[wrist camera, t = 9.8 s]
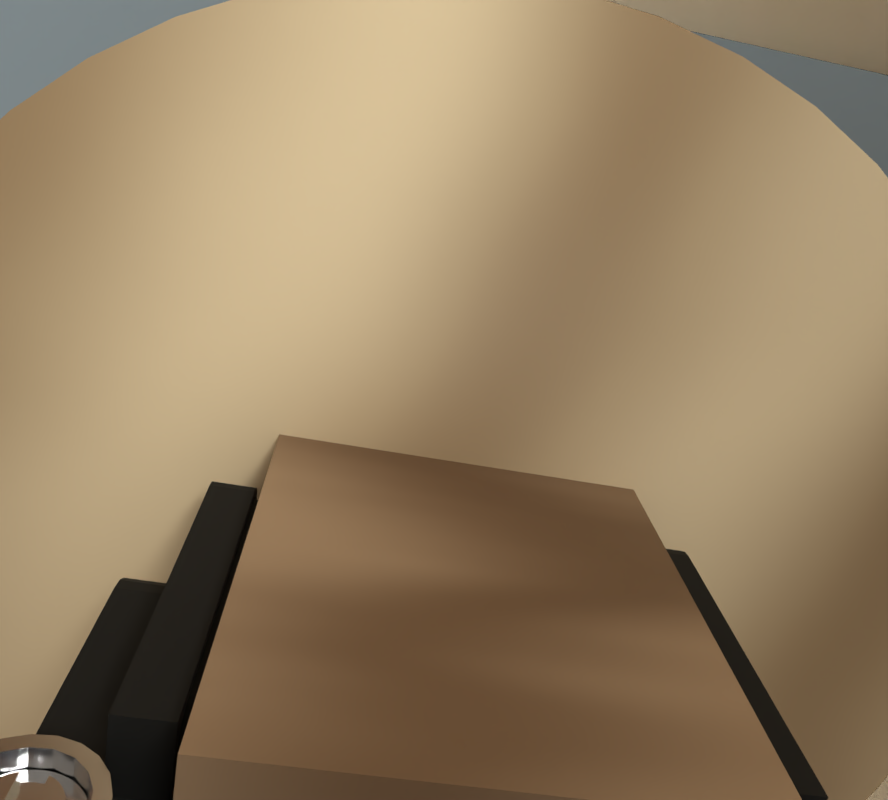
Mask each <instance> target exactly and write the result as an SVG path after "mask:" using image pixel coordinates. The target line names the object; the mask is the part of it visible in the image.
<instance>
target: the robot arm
mask: <svg viewBox="0 0 888 800" xmlns="http://www.w3.org/2000/svg"><path fill="white" fill-rule="evenodd" d="M257 503H258V500H257V488H254V487H247V486H241V485H234V484H227V483H220V482H214V481H212V482H211V484H210V485H209V488H208V490H207V492H206V495H205V497H204V499H203V501H202V504H201V506H200V508H199V510H198V513H197V515H196V517H195V519H194V522H193V524H192V526H191V529H190V531H189V533H188V535H187V538H186V540H185V542H184V544H183V547H182V549H181V551H180V553H179V556H178V558H177V560H176V562H175V565H174V567H173V569H172V572H171V574H170V576H169V578H168V581H167V583H161V582H153V581H146V580H138V579H131V578H122V579H120V580H119V581H118V583H117V584H116V586H115V587H114V589H113V591H112V593H111V595H110V597H109V598H108V600H107V602H106V604H105V606H104V608H103V610H102V611H101V613H100V615H99V617H98V619H97V621H96V623H95V624H94V626H93V628H92V630H91V632H90V634H89V636H88V638H87V639H86V641H85V643H84V645H83V647H82V649H81V651H80V652H79V654H78V656H77V658H76V660H75V662H74V664H73V666H72V667H71V669H70V671H69V673H68V675H67V677H66V679H65V680H64V682H63V684H62V686H61V688H60V690H59V692H58V693H57V695H56V697H55V699H54V701H53V703H52V705H51V707H50V708H49V710H48V712H47V714H46V716H45V718H44V720H43V721H42V723H41V725H40V727H39V729H38V731H37V733H36V734H28V735H22V736H15V737H8V738H2V739H0V800H173V794H174V785H175V775H176V766H177V757H178V752H179V749H180V745H181V742H182V739H183V736H184V733H185V730H186V727H187V723H188V720H189V717H190V714H191V711H192V708H193V705H194V701H195V698H196V695H197V692H198V689H199V686H200V682H201V679H202V676H203V673H204V670H205V667H206V664H207V660H208V657H209V654H210V651H211V648H212V645H213V642H214V638H215V635H216V632H217V629H218V626H219V623H220V620H221V616H222V613H223V610H224V607H225V604H226V601H227V597H228V594H229V591H230V588H231V585H232V582H233V579H234V575H235V572H236V569H237V566H238V563H239V560H240V557H241V553H242V550H243V547H244V544H245V541H246V538H247V535H248V531H249V528H250V525H251V522H252V519H253V516H254V512H255V509H256V506H257ZM666 550H667V552H668V554H669V556H670V558H671V559H672V561H673V563H674V565H675V567H676V569H677V570H678V572H679V574H680V576H681V578H682V580H683V581H684V583H685V585H686V587H687V589H688V591H689V593H690V594H691V596H692V598H693V600H694V602H695V604H696V605H697V607H698V609H699V611H700V613H701V615H702V616H703V618H704V620H705V622H706V624H707V626H708V627H709V629H710V631H711V633H712V635H713V637H714V639H715V640H716V642H717V644H718V646H719V648H720V650H721V651H722V653H723V655H724V657H725V659H726V661H727V662H728V664H729V666H730V668H731V670H732V672H733V674H734V675H735V677H736V679H737V681H738V683H739V685H740V686H741V688H742V690H743V692H744V694H745V696H746V697H747V699H748V701H749V703H750V705H751V707H752V708H753V710H754V712H755V714H756V716H757V718H758V720H759V721H760V723H761V725H762V727H763V729H764V731H765V732H766V734H767V736H768V738H769V740H770V742H771V743H772V745H773V747H774V749H775V751H776V753H777V754H778V756H779V758H780V760H781V762H782V764H783V766H784V767H785V769H786V771H787V773H788V775H789V777H790V778H791V780H792V782H793V784H794V786H795V788H796V789H797V791H798V793H799V795H800V797H801V799H802V800H827V799H828V796H827V794H826V792H825V791H824V789H823V787H822V785H821V784H820V782H819V780H818V778H817V777H816V775H815V773H814V772H813V770H812V768H811V766H810V765H809V763H808V761H807V759H806V758H805V756H804V754H803V753H802V751H801V749H800V747H799V746H798V744H797V742H796V740H795V739H794V737H793V735H792V734H791V732H790V730H789V728H788V727H787V725H786V723H785V721H784V720H783V718H782V716H781V715H780V713H779V711H778V709H777V708H776V706H775V704H774V702H773V701H772V699H771V697H770V696H769V694H768V692H767V690H766V689H765V687H764V685H763V684H762V682H761V680H760V678H759V677H758V675H757V673H756V671H755V670H754V668H753V666H752V665H751V663H750V661H749V659H748V658H747V656H746V654H745V652H744V651H743V649H742V647H741V646H740V644H739V642H738V640H737V639H736V637H735V635H734V633H733V632H732V630H731V628H730V627H729V625H728V623H727V621H726V620H725V618H724V616H723V614H722V613H721V611H720V609H719V608H718V606H717V604H716V602H715V601H714V599H713V597H712V595H711V594H710V592H709V590H708V589H707V587H706V585H705V583H704V582H703V580H702V578H701V576H700V575H699V573H698V571H697V570H696V568H695V566H694V564H693V563H692V561H691V559H690V558H689V556H688V555H687V554H686V552H684V551H679V550H672V549H666Z"/></svg>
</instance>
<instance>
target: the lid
mask: <svg viewBox="0 0 888 800" xmlns="http://www.w3.org/2000/svg"><path fill="white" fill-rule="evenodd" d="M212 481H214V482H220V483H227V484H234V485H241V486H247V487H254V488H257V500H258V503H257V506H256V509H255V512H254V516H253V519H252V522H251V525H250V528H249V531H248V535H247V538H246V541H245V544H244V547H243V550H242V553H241V557H240V560H239V563H238V566H237V569H236V572H235V575H234V579H233V582H232V585H231V588H230V591H229V594H228V597H227V601H226V604H225V607H224V610H223V613H222V616H221V620H220V623H219V626H218V629H217V632H216V635H215V638H214V642H213V645H212V648H211V651H210V654H209V657H208V660H207V664H206V667H205V670H204V673H203V676H202V679H201V682H200V686H199V689H198V692H197V695H196V698H195V701H194V705H193V708H192V711H191V714H190V717H189V720H188V723H187V727H186V730H185V733H184V736H183V739H182V742H181V745H180V749H179V752H178V757H177V766H176V775H175V785H174V794H173V800H802V799H801V797H800V795H799V793H798V791H797V789H796V788H795V786H794V784H793V782H792V780H791V778H790V777H789V775H788V773H787V771H786V769H785V767H784V766H783V764H782V762H781V760H780V758H779V756H778V754H777V753H776V751H775V749H774V747H773V745H772V743H771V742H770V740H769V738H768V736H767V734H766V732H765V731H764V729H763V727H762V725H761V723H760V721H759V720H758V718H757V716H756V714H755V712H754V710H753V708H752V707H751V705H750V703H749V701H748V699H747V697H746V696H745V694H744V692H743V690H742V688H741V686H740V685H739V683H738V681H737V679H736V677H735V675H734V674H733V672H732V670H731V668H730V666H729V664H728V662H727V661H726V659H725V657H724V655H723V653H722V651H721V650H720V648H719V646H718V644H717V642H716V640H715V639H714V637H713V635H712V633H711V631H710V629H709V627H708V626H707V624H706V622H705V620H704V618H703V616H702V615H701V613H700V611H699V609H698V607H697V605H696V604H695V602H694V600H693V598H692V596H691V594H690V593H689V591H688V589H687V587H686V585H685V583H684V581H683V580H682V578H681V576H680V574H679V572H678V570H677V569H676V567H675V565H674V563H673V561H672V559H671V558H670V556H669V554H668V552H667V550H666V549H672V550H679V551H684V552H686V554H687V555H688V556H689V558H690V559H691V561H692V563H693V564H694V566H695V568H696V570H697V571H698V573H699V575H700V576H701V578H702V580H703V582H704V583H705V585H706V587H707V589H708V590H709V592H710V594H711V595H712V597H713V599H714V601H715V602H716V604H717V606H718V608H719V609H720V611H721V613H722V614H723V616H724V618H725V620H726V621H727V623H728V625H729V627H730V628H731V630H732V632H733V633H734V635H735V637H736V639H737V640H738V642H739V644H740V646H741V647H742V649H743V651H744V652H745V654H746V656H747V658H748V659H749V661H750V663H751V665H752V666H753V668H754V670H755V671H756V673H757V675H758V677H759V678H760V680H761V682H762V684H763V685H764V687H765V689H766V690H767V692H768V694H769V696H770V697H771V699H772V701H773V702H774V704H775V706H776V708H777V709H778V711H779V713H780V715H781V716H782V718H783V720H784V721H785V723H786V725H787V727H788V728H789V730H790V732H791V734H792V735H793V737H794V739H795V740H796V742H797V744H798V746H799V747H800V749H801V751H802V753H803V754H804V756H805V758H806V759H807V761H808V763H809V765H810V766H811V768H812V770H813V772H814V773H815V775H816V777H817V778H818V780H819V782H820V784H821V785H822V787H823V789H824V791H825V792H826V794H827V796H828V799H827V800H866V799H867V798H868V797H869V796H870V795H871V794H872V793H873V792H874V791H875V790H876V789H877V788H878V787H879V786H880V785H881V784H882V782H883V781H884V780H885V778H886V777H887V776H888V177H887V176H886V175H885V174H884V172H883V171H882V170H881V168H880V167H879V166H878V164H876V163H875V162H874V161H873V160H872V159H871V158H870V157H869V156H868V155H867V154H866V153H865V152H864V151H863V150H862V149H861V148H860V147H858V146H857V145H856V144H855V143H854V142H853V141H852V140H851V139H850V138H849V137H848V136H847V135H846V134H845V133H844V132H843V131H841V130H840V129H839V128H838V127H837V126H836V125H835V124H834V123H833V122H832V121H831V120H830V119H829V118H828V117H827V116H826V115H824V114H823V113H822V112H821V111H820V110H819V109H818V108H817V107H816V106H814V105H813V104H812V103H810V102H809V101H807V100H806V99H804V98H803V97H801V96H800V95H798V94H797V93H795V92H794V91H792V90H791V89H790V88H788V87H787V86H785V85H784V84H782V83H781V82H779V81H778V80H776V79H775V78H773V77H772V76H771V75H769V74H768V73H766V72H765V71H763V70H762V69H760V68H759V67H757V66H756V65H754V64H753V63H752V62H750V61H749V60H747V59H746V58H744V57H743V56H740V55H738V54H736V53H734V52H732V51H730V50H728V49H726V48H724V47H722V46H720V45H717V44H715V43H713V42H711V41H709V40H707V39H705V38H703V37H701V36H699V35H697V34H694V33H692V32H690V31H688V30H686V29H684V28H682V27H680V26H678V25H676V24H674V23H671V22H669V21H667V20H665V19H663V18H661V17H659V16H655V15H652V14H649V13H645V12H642V11H639V10H636V9H632V8H629V7H626V6H623V5H619V4H616V3H613V2H609V1H606V0H230V1H226V2H223V3H220V4H216V5H213V6H210V7H206V8H203V9H200V10H196V11H193V12H190V13H186V14H183V15H180V16H176V17H174V18H172V19H170V20H167V21H165V22H163V23H161V24H159V25H157V26H155V27H153V28H150V29H148V30H146V31H144V32H142V33H140V34H138V35H136V36H133V37H131V38H129V39H127V40H125V41H123V42H121V43H119V44H116V45H114V46H112V47H110V48H108V49H106V50H104V51H102V52H100V53H97V54H95V55H93V56H91V57H89V58H87V59H86V60H84V61H83V62H81V63H80V64H78V65H77V66H75V67H74V68H72V69H71V70H69V71H68V72H66V73H65V74H63V75H62V76H60V77H59V78H57V79H56V80H54V81H53V82H51V83H50V84H48V85H47V86H46V87H44V88H43V89H41V90H40V91H38V92H37V93H35V94H34V95H32V96H31V97H29V98H28V99H26V100H25V101H23V102H22V103H20V104H19V105H17V106H16V107H14V108H13V109H11V110H10V111H9V112H8V113H7V114H6V115H5V116H3V117H2V118H1V119H0V739H2V738H8V737H15V736H22V735H28V734H36V733H37V731H38V729H39V727H40V725H41V723H42V721H43V720H44V718H45V716H46V714H47V712H48V710H49V708H50V707H51V705H52V703H53V701H54V699H55V697H56V695H57V693H58V692H59V690H60V688H61V686H62V684H63V682H64V680H65V679H66V677H67V675H68V673H69V671H70V669H71V667H72V666H73V664H74V662H75V660H76V658H77V656H78V654H79V652H80V651H81V649H82V647H83V645H84V643H85V641H86V639H87V638H88V636H89V634H90V632H91V630H92V628H93V626H94V624H95V623H96V621H97V619H98V617H99V615H100V613H101V611H102V610H103V608H104V606H105V604H106V602H107V600H108V598H109V597H110V595H111V593H112V591H113V589H114V587H115V586H116V584H117V583H118V581H119V580H120V579H122V578H131V579H138V580H146V581H153V582H161V583H167V581H168V578H169V576H170V574H171V572H172V569H173V567H174V565H175V562H176V560H177V558H178V556H179V553H180V551H181V549H182V547H183V544H184V542H185V540H186V538H187V535H188V533H189V531H190V529H191V526H192V524H193V522H194V519H195V517H196V515H197V513H198V510H199V508H200V506H201V504H202V501H203V499H204V497H205V495H206V492H207V490H208V488H209V485H210V484H211V482H212Z"/></svg>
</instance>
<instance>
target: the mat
mask: <svg viewBox="0 0 888 800" xmlns="http://www.w3.org/2000/svg"><path fill="white" fill-rule="evenodd" d="M226 1H230V0H0V119H1V118H2V117H3V116H5V115H6V114H7V113H8V112H9V111H10V110H11V109H13V108H14V107H16V106H17V105H19V104H20V103H22V102H23V101H25V100H26V99H28V98H29V97H31V96H32V95H34V94H35V93H37V92H38V91H40V90H41V89H43V88H44V87H46V86H47V85H48V84H50V83H51V82H53V81H54V80H56V79H57V78H59V77H60V76H62V75H63V74H65V73H66V72H68V71H69V70H71V69H72V68H74V67H75V66H77V65H78V64H80V63H81V62H83V61H84V60H86V59H87V58H89V57H91V56H93V55H95V54H97V53H100V52H102V51H104V50H106V49H108V48H110V47H112V46H114V45H116V44H119V43H121V42H123V41H125V40H127V39H129V38H131V37H133V36H136V35H138V34H140V33H142V32H144V31H146V30H148V29H150V28H153V27H155V26H157V25H159V24H161V23H163V22H165V21H167V20H170V19H172V18H174V17H176V16H180V15H183V14H186V13H190V12H193V11H196V10H200V9H203V8H206V7H210V6H213V5H216V4H220V3H223V2H226ZM690 32H692V31H690ZM692 33H694V34H697V35H699V36H701V37H703V38H705V39H707V40H709V41H711V42H713V43H715V44H717V45H720V46H722V47H724V48H726V49H728V50H730V51H732V52H734V53H736V54H738V55H740V56H743V57H744V58H746V59H747V60H749V61H750V62H752V63H753V64H754V65H756V66H757V67H759V68H760V69H762V70H763V71H765V72H766V73H768V74H769V75H771V76H772V77H773V78H775V79H776V80H778V81H779V82H781V83H782V84H784V85H785V86H787V87H788V88H790V89H791V90H792V91H794V92H795V93H797V94H798V95H800V96H801V97H803V98H804V99H806V100H807V101H809V102H810V103H812V104H813V105H814V106H816V107H817V108H818V109H819V110H820V111H821V112H822V113H823V114H824V115H826V116H827V117H828V118H829V119H830V120H831V121H832V122H833V123H834V124H835V125H836V126H837V127H838V128H839V129H840V130H841V131H843V132H844V133H845V134H846V135H847V136H848V137H849V138H850V139H851V140H852V141H853V142H854V143H855V144H856V145H857V146H858V147H860V148H861V149H862V150H863V151H864V152H865V153H866V154H867V155H868V156H869V157H870V158H871V159H872V160H873V161H874V162H875V163H876V164H878V166H879V167H880V168H881V170H882V171H883V172H884V174H885V175H886V176H887V177H888V75H884V74H880V73H875V72H871V71H866V70H862V69H857V68H853V67H848V66H844V65H840V64H835V63H831V62H826V61H822V60H817V59H813V58H808V57H804V56H799V55H795V54H790V53H786V52H781V51H777V50H773V49H768V48H764V47H759V46H755V45H750V44H746V43H741V42H737V41H732V40H728V39H723V38H719V37H714V36H710V35H706V34H701V33H697V32H692Z"/></svg>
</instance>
